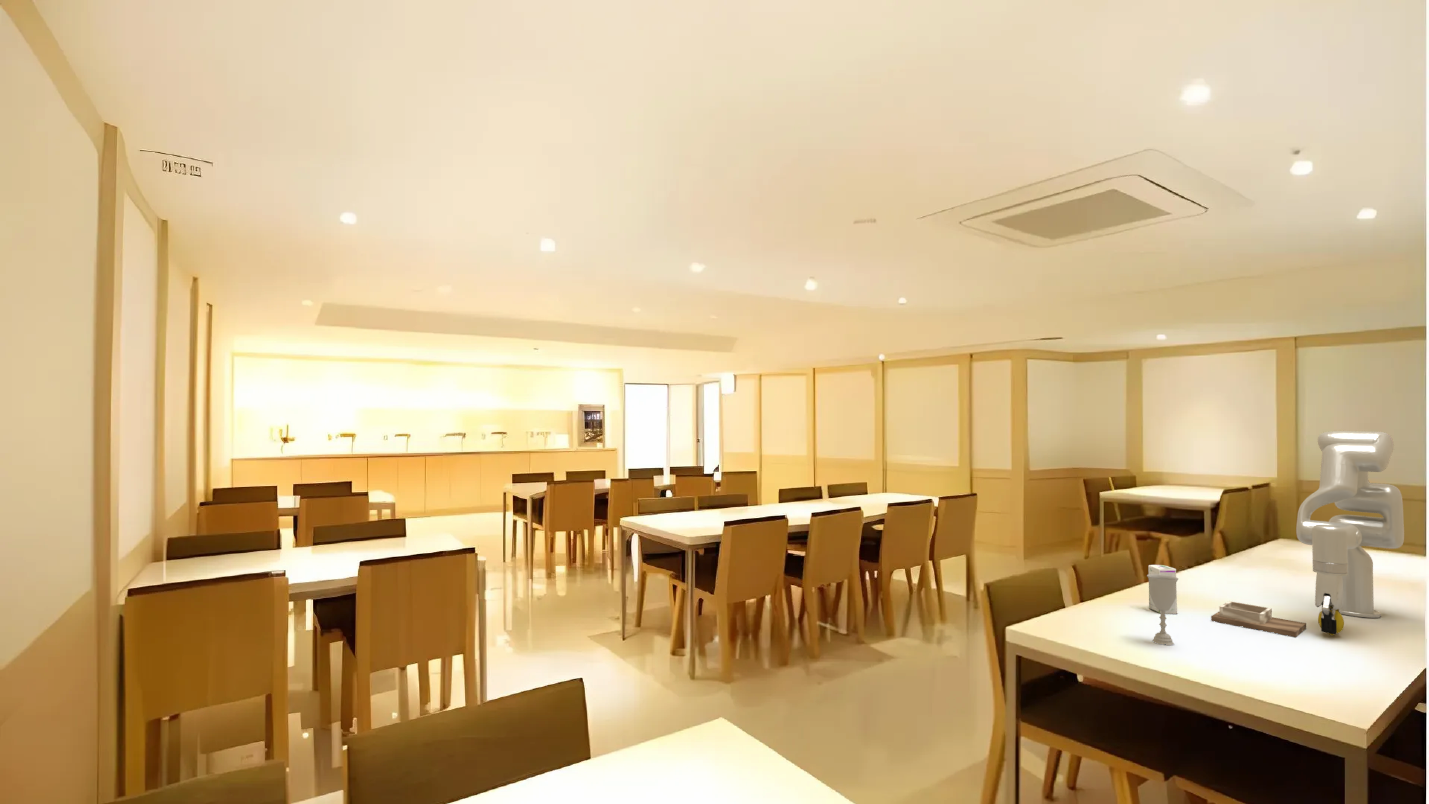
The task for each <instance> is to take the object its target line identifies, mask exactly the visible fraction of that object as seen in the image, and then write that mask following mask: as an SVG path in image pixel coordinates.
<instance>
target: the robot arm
mask: <svg viewBox="0 0 1429 804" xmlns="http://www.w3.org/2000/svg"><path fill="white" fill-rule="evenodd" d="M1317 443H1318V444H1317V445H1318V447H1319V449H1320V451H1321V462H1320V463H1321V464H1320V474H1319V475H1320V476H1319V487H1318V489H1317V490H1316V491H1314V492H1313V493H1310V494H1309V495H1308V496H1307V497H1306V498H1305V499H1304V500H1303V502H1301V504H1300V506H1299V508H1298V511H1297V518H1296V525H1295V526H1296V528H1295V529H1296V530H1295V532H1296V538H1297V540H1298V541H1299V542H1300V543H1301V544H1304V545H1309V546H1312V548H1311V549H1312V550H1311V552H1312V572H1313V573H1316V576H1315V595H1314V598H1315V599H1314V605H1315V607H1317V608H1319V607H1320V606H1321V611H1322V618H1321V627H1320V630H1321V632H1322V633H1326V634H1328V633H1330V634H1334V635H1336V634H1338V633H1337V624H1336V620H1335V610H1336V611H1338V612H1339V613H1340V614H1341V615H1346V616H1351V617H1358V618H1368V619H1369V618H1370V619H1376V618H1377V619H1378V618H1381V616H1382V613H1381V612H1380V611H1379V610H1376V609H1374V607H1375V603H1374V599H1375V597H1374V561H1373V559H1372V557H1371V555H1370V554H1369V553H1368V552H1367V551H1366V550H1365V549H1364V548H1363V547H1370V548H1371V547H1372V548H1380V549H1381V548H1382V549H1400V548H1401V547H1402V546H1403V544H1404V541H1405V526H1404V524H1405V522H1404V521H1405V519H1404V503H1403V502H1404V501H1403V495H1402V492H1401V490H1400V489H1399V488H1398V487H1397V486H1395V485H1393V484H1389V483H1376V482H1375V483H1374V482H1370V481H1369V472H1370V473H1381V472H1384V471H1385V470H1386V469H1387V468H1388V466H1389V463H1390V460H1391V457H1392V455H1393V452H1394V446H1395V445H1394V440H1393V438H1392V435H1390V434H1389V433H1387V432H1383V431H1365V430H1364V431H1363V430H1362V431H1357V430H1333V431H1325V432H1324V431H1323V432H1321V433H1320V434H1318V436H1317ZM1330 504H1334V506H1335V507H1337V509H1338V510H1339V509H1340V510H1342V511H1347V512H1348V511H1349V512H1356V513H1369V514H1379V515H1381V516H1382V517H1380V516H1379V517H1378V516H1368V515H1355V514H1338V515H1337V514H1336V515H1333V516H1332V517H1331V518H1330V519H1328V521H1326V520H1313V519H1311V516H1312V515H1313V513H1314V512H1315V511H1316V510H1318V509H1319V508H1322V507H1323V506H1326V505H1330ZM1330 607H1331V608H1330ZM1331 611H1332V612H1331Z"/></svg>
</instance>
